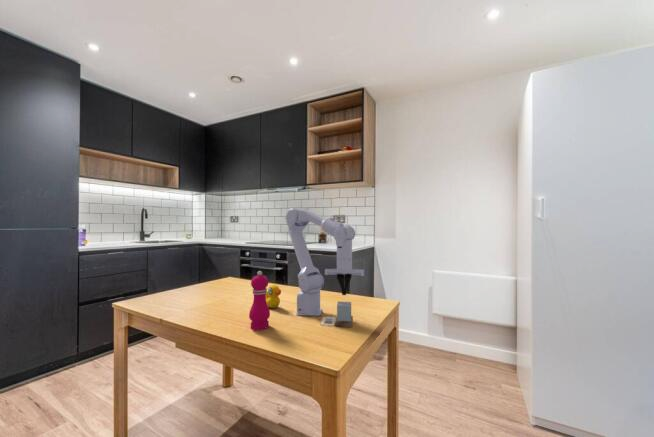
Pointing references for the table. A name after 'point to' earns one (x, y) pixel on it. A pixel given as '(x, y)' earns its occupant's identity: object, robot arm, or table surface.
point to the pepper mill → (259, 303)
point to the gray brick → (344, 311)
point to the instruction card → (328, 321)
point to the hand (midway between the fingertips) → (344, 294)
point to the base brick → (344, 323)
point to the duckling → (273, 296)
